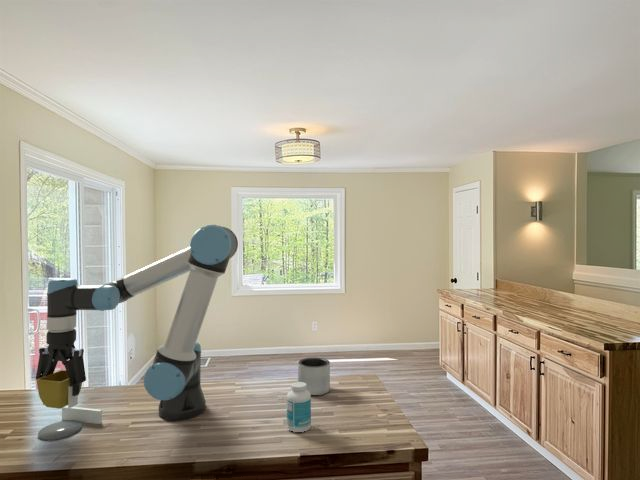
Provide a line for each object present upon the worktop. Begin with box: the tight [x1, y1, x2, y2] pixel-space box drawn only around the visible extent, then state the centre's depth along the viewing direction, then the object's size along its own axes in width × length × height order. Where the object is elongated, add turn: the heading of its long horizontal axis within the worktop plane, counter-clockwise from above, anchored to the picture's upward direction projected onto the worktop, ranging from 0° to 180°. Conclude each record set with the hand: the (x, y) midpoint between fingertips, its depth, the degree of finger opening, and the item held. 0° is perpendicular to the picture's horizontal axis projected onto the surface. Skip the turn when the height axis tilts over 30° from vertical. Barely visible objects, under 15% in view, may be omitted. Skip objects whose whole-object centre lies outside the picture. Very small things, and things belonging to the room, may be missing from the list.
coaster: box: [37, 420, 83, 441], centre depth 118 cm, size 11×11×1 cm
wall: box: [61, 405, 103, 425], centre depth 124 cm, size 14×1×4 cm, turn 79°
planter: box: [297, 357, 331, 397], centre depth 151 cm, size 13×13×11 cm
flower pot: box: [36, 369, 83, 410], centre depth 118 cm, size 9×9×9 cm
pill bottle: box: [286, 381, 312, 433], centre depth 121 cm, size 8×7×14 cm
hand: (60, 404), depth 118 cm, fingers closed on flower pot, 8 cm apart
